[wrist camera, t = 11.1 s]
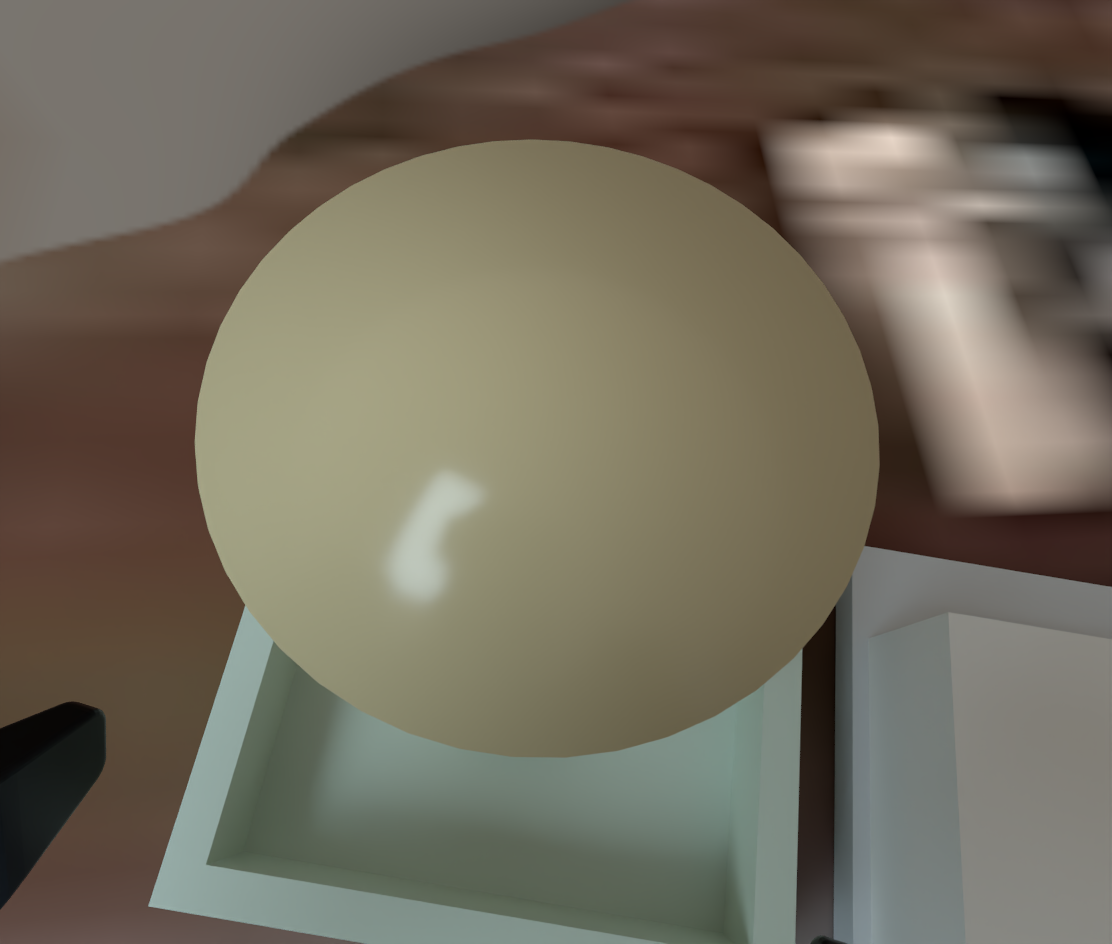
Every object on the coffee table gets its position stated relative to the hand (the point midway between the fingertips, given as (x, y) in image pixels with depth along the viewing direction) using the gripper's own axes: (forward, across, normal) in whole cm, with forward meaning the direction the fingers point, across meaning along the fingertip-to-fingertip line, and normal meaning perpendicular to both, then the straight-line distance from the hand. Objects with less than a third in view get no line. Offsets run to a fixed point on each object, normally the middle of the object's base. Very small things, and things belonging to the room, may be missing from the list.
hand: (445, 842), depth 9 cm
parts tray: (+9, 0, +4) cm, 10 cm away
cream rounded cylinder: (+8, 0, +3) cm, 9 cm away
